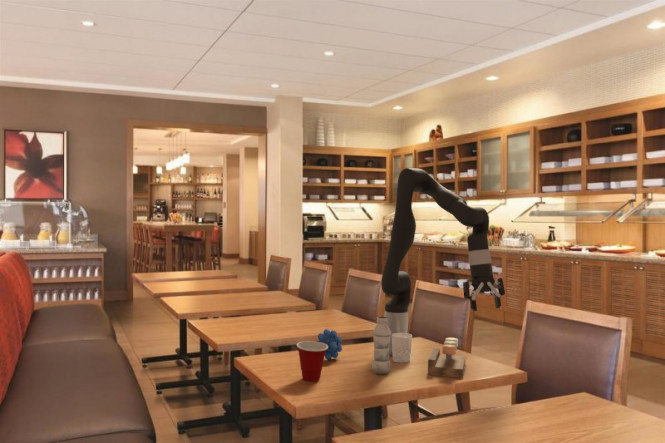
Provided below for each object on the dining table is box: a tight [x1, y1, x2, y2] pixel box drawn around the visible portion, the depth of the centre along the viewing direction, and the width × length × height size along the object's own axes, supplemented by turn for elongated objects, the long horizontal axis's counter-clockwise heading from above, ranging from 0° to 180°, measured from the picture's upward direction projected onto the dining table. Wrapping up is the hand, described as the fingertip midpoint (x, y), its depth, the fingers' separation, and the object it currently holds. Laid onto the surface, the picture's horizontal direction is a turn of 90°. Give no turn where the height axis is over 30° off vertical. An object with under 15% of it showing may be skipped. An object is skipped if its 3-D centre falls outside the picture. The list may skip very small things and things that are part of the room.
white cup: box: [392, 332, 413, 364], centre depth 223 cm, size 8×8×10 cm
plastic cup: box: [296, 340, 328, 383], centre depth 197 cm, size 11×11×12 cm
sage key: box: [443, 341, 458, 351], centre depth 211 cm, size 5×5×4 cm
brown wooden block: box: [427, 347, 466, 379], centre depth 212 cm, size 12×18×5 cm, turn 164°
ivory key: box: [444, 337, 459, 348], centre depth 217 cm, size 5×5×4 cm
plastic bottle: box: [371, 315, 391, 375], centre depth 205 cm, size 6×7×20 cm
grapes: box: [316, 328, 343, 361], centre depth 222 cm, size 12×7×12 cm, turn 123°
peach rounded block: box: [442, 344, 457, 359], centre depth 206 cm, size 5×5×4 cm
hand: (486, 309), depth 202 cm, fingers open, 8 cm apart
